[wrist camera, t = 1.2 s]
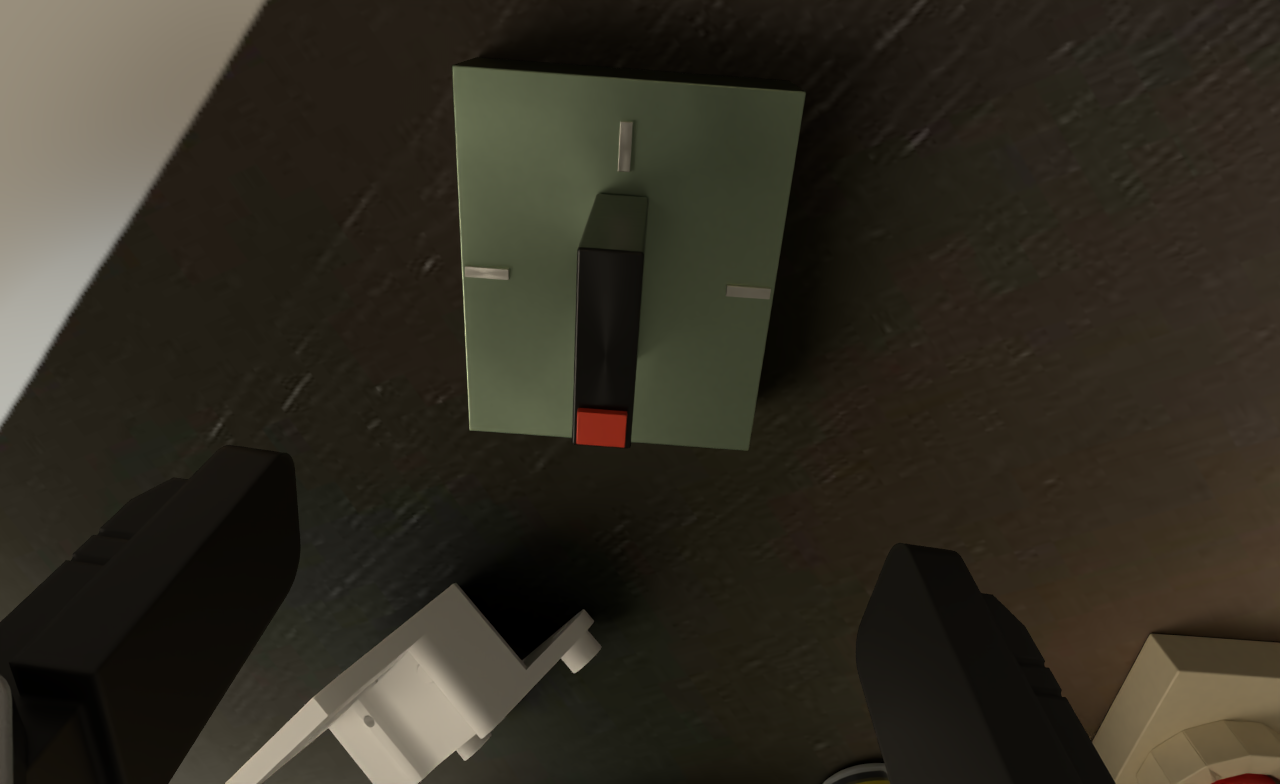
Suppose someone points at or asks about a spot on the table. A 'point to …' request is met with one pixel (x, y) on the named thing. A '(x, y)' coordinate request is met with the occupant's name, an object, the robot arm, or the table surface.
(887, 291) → the table surface
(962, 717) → the robot arm
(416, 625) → the mounting bracket
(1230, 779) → the release button
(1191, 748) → the box
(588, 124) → the lever switch base
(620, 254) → the red-tipped upright plate
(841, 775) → the pill bottle
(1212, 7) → the table surface
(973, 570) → the table surface
